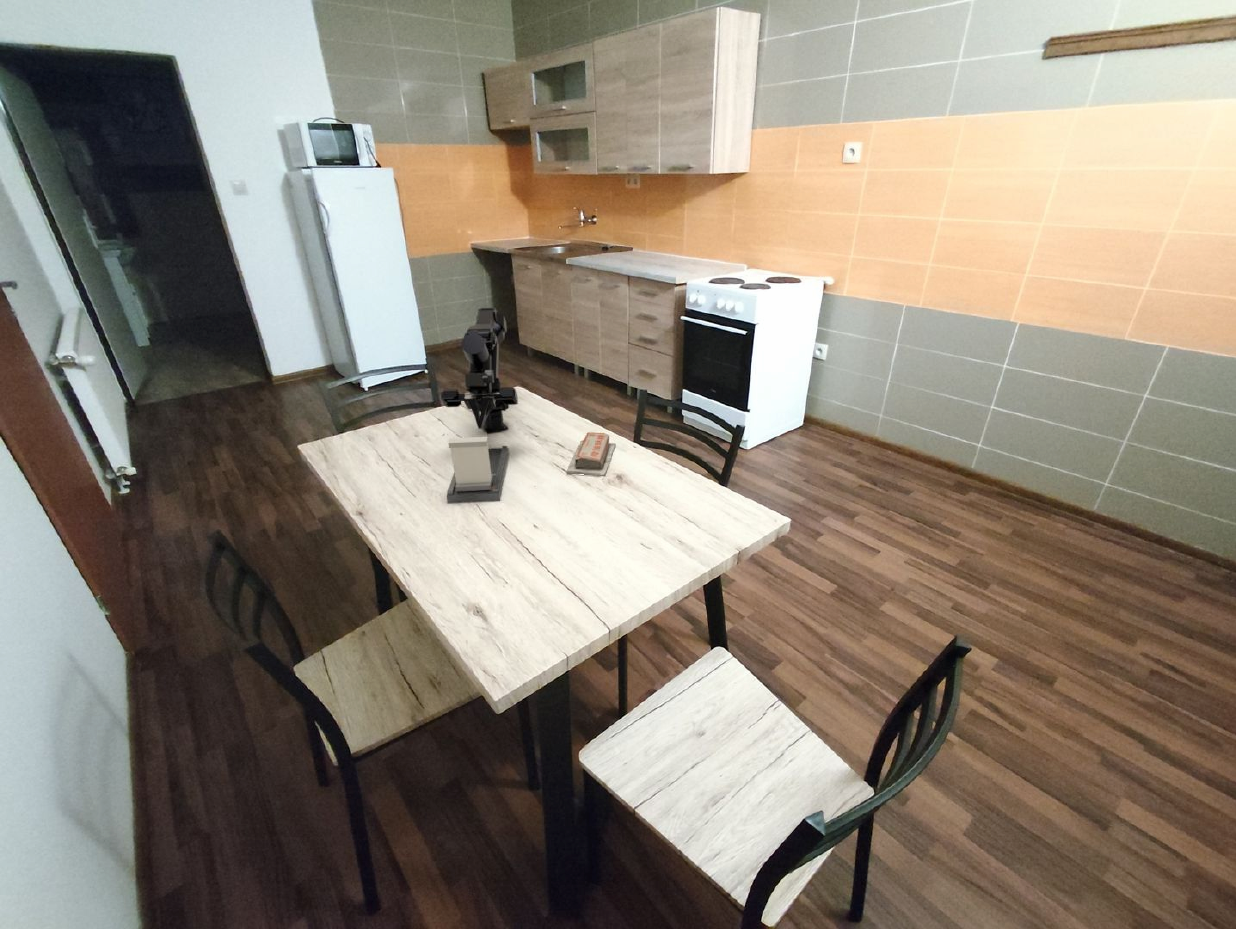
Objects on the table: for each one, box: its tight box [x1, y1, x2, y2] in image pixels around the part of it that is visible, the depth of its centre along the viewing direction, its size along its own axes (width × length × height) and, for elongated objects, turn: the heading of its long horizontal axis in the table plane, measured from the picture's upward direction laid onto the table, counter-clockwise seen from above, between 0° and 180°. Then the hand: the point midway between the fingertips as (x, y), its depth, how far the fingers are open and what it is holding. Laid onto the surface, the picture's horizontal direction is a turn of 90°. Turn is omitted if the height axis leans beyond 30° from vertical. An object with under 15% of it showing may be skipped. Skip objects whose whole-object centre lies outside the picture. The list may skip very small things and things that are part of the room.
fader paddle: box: [448, 436, 493, 491], centre depth 131 cm, size 5×8×12 cm, turn 94°
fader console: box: [446, 445, 510, 504], centre depth 142 cm, size 24×12×3 cm, turn 4°
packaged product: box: [566, 431, 617, 477], centre depth 150 cm, size 18×5×10 cm
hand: (479, 428), depth 144 cm, fingers closed
